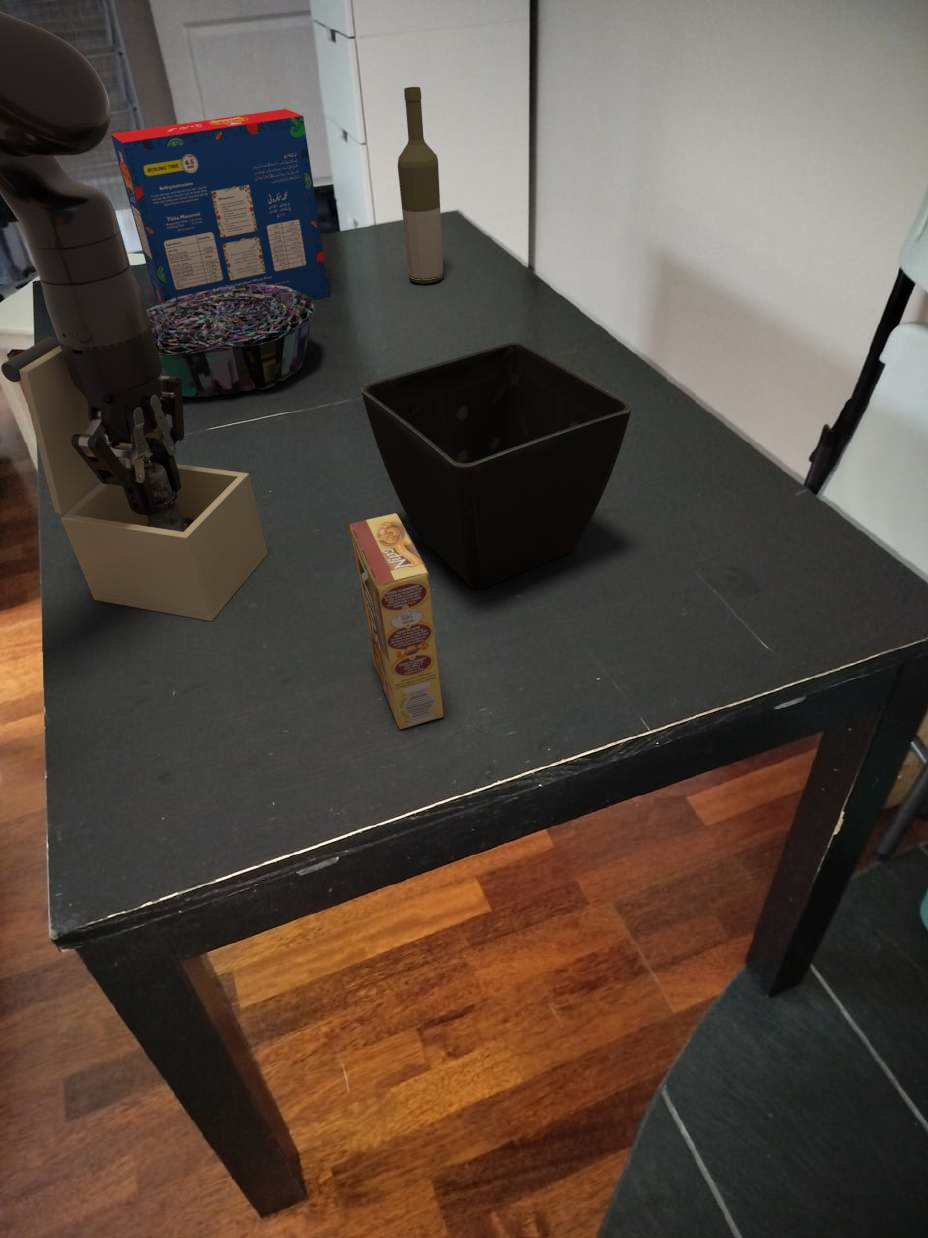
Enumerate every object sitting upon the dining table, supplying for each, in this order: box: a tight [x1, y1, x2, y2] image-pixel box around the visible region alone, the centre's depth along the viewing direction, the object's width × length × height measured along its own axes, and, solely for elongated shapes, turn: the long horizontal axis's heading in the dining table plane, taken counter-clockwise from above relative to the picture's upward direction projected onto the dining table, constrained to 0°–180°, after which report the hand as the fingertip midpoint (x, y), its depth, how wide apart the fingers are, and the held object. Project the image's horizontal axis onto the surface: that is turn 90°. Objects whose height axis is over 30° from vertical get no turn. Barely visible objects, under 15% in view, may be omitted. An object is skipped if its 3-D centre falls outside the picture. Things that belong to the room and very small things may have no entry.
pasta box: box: [110, 108, 330, 305], centre depth 141 cm, size 28×8×28 cm, turn 119°
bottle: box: [397, 86, 444, 285], centre depth 146 cm, size 7×7×30 cm
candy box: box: [349, 512, 444, 730], centre depth 69 cm, size 9×4×15 cm, turn 20°
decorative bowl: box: [146, 284, 316, 399], centre depth 126 cm, size 26×28×10 cm
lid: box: [0, 336, 132, 515], centre depth 80 cm, size 14×12×5 cm
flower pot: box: [360, 341, 633, 589], centre depth 85 cm, size 19×19×17 cm
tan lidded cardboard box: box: [60, 460, 269, 622], centre depth 86 cm, size 14×12×10 cm
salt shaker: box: [143, 455, 195, 532], centre depth 84 cm, size 6×6×12 cm
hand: (158, 500), depth 83 cm, fingers closed on salt shaker, 3 cm apart
